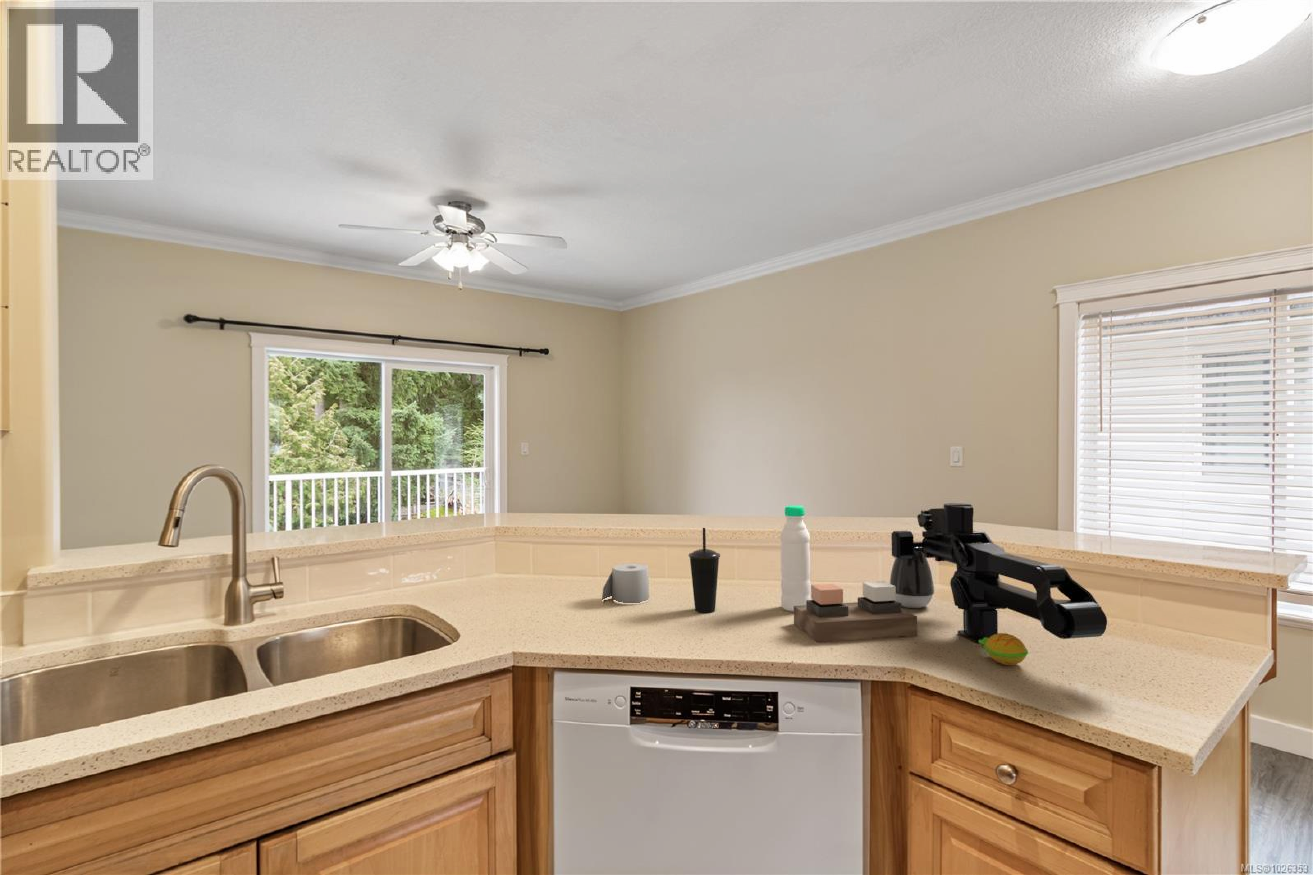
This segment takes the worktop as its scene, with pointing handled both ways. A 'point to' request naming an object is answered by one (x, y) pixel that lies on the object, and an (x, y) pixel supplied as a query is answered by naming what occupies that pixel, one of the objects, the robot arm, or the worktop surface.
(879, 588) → the white key
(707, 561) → the drinking cup
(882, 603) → the console
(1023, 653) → the maraca
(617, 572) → the toilet tissue
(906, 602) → the pump dispenser
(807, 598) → the water bottle
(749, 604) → the worktop surface
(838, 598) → the terracotta key
